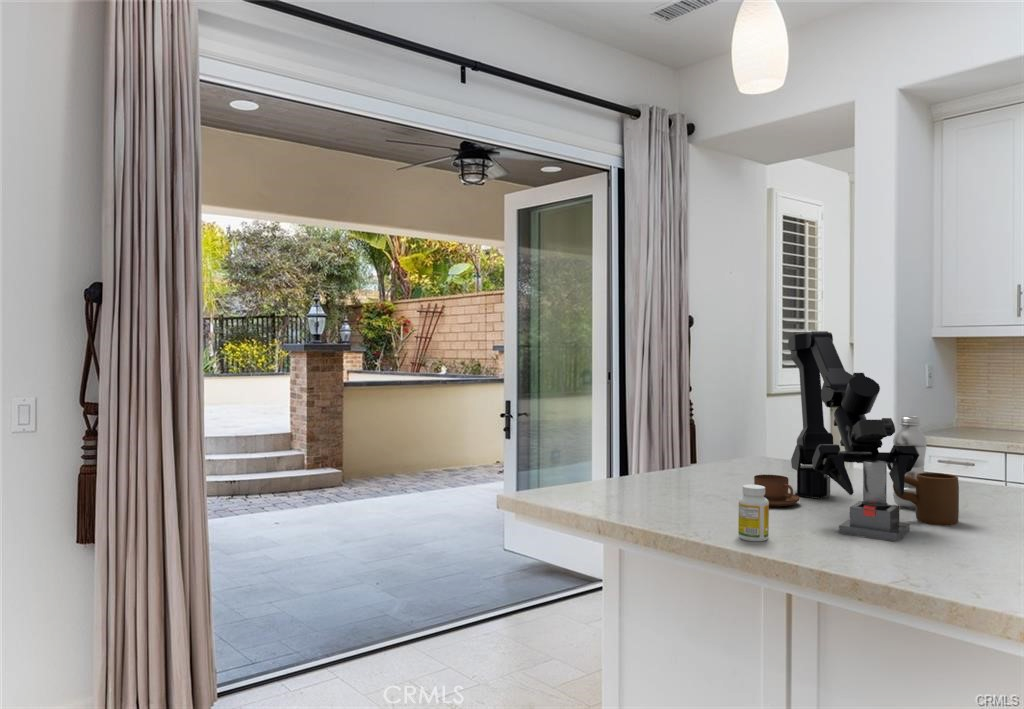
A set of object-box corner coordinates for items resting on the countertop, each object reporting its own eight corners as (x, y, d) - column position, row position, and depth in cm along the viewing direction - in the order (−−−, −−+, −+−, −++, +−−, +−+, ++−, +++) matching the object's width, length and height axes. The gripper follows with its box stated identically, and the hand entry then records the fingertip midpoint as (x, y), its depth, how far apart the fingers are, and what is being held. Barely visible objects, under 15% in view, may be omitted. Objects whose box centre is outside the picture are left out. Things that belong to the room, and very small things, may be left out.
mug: (898, 524, 149) (898, 477, 149) (887, 515, 157) (888, 470, 157) (964, 527, 146) (964, 479, 146) (951, 518, 154) (951, 473, 154)
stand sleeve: (839, 533, 142) (839, 504, 141) (854, 523, 149) (854, 496, 149) (896, 541, 135) (897, 511, 135) (909, 531, 143) (909, 502, 143)
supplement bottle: (748, 542, 135) (748, 489, 135) (732, 535, 140) (732, 484, 140) (774, 540, 136) (775, 488, 136) (758, 533, 141) (758, 483, 141)
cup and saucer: (808, 504, 169) (808, 477, 169) (786, 512, 160) (786, 483, 160) (757, 497, 177) (757, 471, 177) (734, 504, 169) (734, 477, 169)
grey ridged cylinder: (859, 523, 142) (859, 461, 142) (865, 519, 145) (865, 459, 145) (884, 527, 139) (884, 464, 139) (890, 523, 142) (890, 461, 142)
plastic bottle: (932, 511, 161) (932, 418, 160) (897, 510, 162) (898, 418, 162) (921, 505, 167) (922, 416, 167) (889, 504, 168) (889, 415, 168)
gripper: (816, 403, 147) (837, 468, 136) (914, 403, 146) (943, 469, 135) (804, 438, 155) (822, 502, 144) (896, 439, 154) (922, 504, 143)
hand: (876, 494), depth 141 cm, fingers open, 9 cm apart
